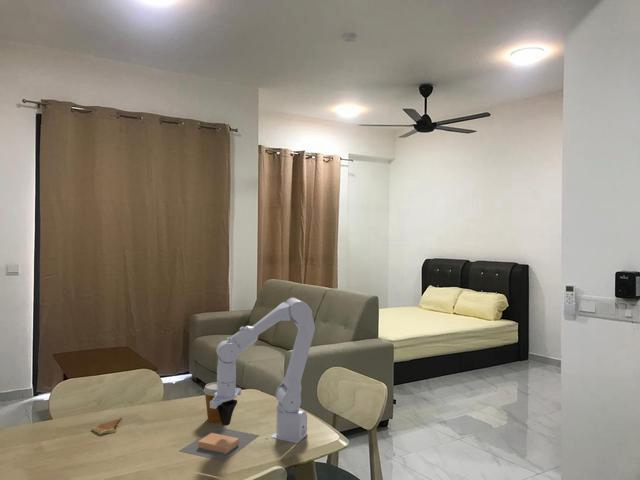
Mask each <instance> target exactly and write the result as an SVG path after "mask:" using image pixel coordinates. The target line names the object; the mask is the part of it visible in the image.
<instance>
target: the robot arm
mask: <svg viewBox="0 0 640 480" xmlns="http://www.w3.org/2000/svg"><path fill="white" fill-rule="evenodd" d="M291 320H292V321H293V323H294V324H295V326H296V327H297V333H296V337H295V341H294V343H293V347H292V351H291V354H290V358H289V362H288V366H287V369H286V373H285V376H284V377H283V378H282V380H281V382H280V384H279V386H278V387H277V389H276V390H275V398H276V400H277V401H278V404H277V406H276V430H275V431H276V432H275V433H273V434H272V435H271V436H270V437H271V439H276V440H280V441H284V442H285V441H286V442H290V443H295V444H299V443H300V442H301V441H303V439H304V438H305V437H307V436H308V413H307V411H305V410H302V409H300V407H301V405H302V394H301V393H302V390H303V388H302V378H303V374H304V371H305V367H306V364H307V360H308V356H309V353H310V349H311V346H312V342H313V337H314V335H315V331H316V325H315V321H314V318H313V310H312V309H311V308H310V306H309V305H308V304H307V302H305V301H303V300H300V299H298V298H297V297H290V298H288V299H287V300H285V301H283V302H281V303H280V304H279V305H277V306H276V307H275V308H274V309H272V310H271V311H270V312H269V313H268V314H266V315H265V316H263V317H262V318H261V319H259V320H258V321H257V322H256V323H254V324H253V325H252V326H251V325H245V326H242V325H241V327H239V330H238V331H237V332H236V333H234V334H233V335H232V336H228V337H227V338H226V339H227V340H222V341H221V342H220V343H218V344H217V347H216V349H215V352H216V355H217V366H216V369H217V370H216V382H217V392H216V393H214V396H215V397H214V398H213V400H212V401H210V408H214V409H216V408H217V410H218V412H219V415H220V419H221V422H220V423H221V425H222V426H225V427H228V426H229V425H230V424H231V421H232V416H233V413H234V410H235V408H236V406H237V405H238V400H237V399H236V397H237V396H241V395H242V388H239V387H237V386H236V385H237V383H236V381H237V365H236V361H237V358H238V356H239V354H240V353H242V352H244V351H245V350H247V348H249V347H250V346H252V345H253V344H254V343H256V342H257V341H258V338H259V336H260V334H262V333H264V332H266V330H268V329H270V328H271V327H273V326H274V325H275V324H277V323H278V322H281V321H282V322H283V321H285V322H286V321H288V322H290V321H291Z"/></svg>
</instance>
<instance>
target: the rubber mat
mask: <svg viewBox="0 0 640 480" xmlns="http://www.w3.org/2000/svg"><path fill="white" fill-rule="evenodd" d="M210 433H215V434H220V435H225V436H230V437H235V438H239V445H238V446H237V447H235V448H234V449H233V450H231V451H230V452H228V453H227V454H223V453H219V452H214V451H210V450H205V449H201V448H199V447H198V441H199V440H201V439H202V438H204V437H206V436H207V435H209V434H210ZM258 437H260V435H259V434H255V433H251V432H250V433H248V432H244V431H240V430H233V429H228V428H226V427H225V428H223V427H220V426H217V427H215V428H213V429H212V430H210V431H208V432H207V433H206V434H204V435H202V436H200V437H199V438H197V439H196V440H194V441H192V442H190V443H189V444H188V445H186V446H184V447H183V448H181V449H180V450H178V452H181V453H184V454H189V455H194V456H199V457H204V458H206V459H207V458H208V459H213V460H216V461H221V462H226V461H227V460H229V459H230V458H232V457H233V456H234V455H236V454H237V453H238V452H240V451H241V450H242V449H244V448H245V447H246V446H248V445H249V444H250V443H252V442H253V441H254V440H256V439H257V438H258Z"/></svg>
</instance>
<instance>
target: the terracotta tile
mask: <svg viewBox="0 0 640 480" xmlns="http://www.w3.org/2000/svg"><path fill="white" fill-rule="evenodd" d="M238 445H239V438H235V437H230V436H225V435H220V434H215V433H210V434H209V435H207V436H206V437H204V438H202V439H201V440H199V441H198V447H199V448H201V449H205V450H210V451H214V452H219V453H223V454H227V453H228V452H230V451H231V450H233V449H234V448H235V447H237V446H238Z"/></svg>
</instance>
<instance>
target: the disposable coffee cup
mask: <svg viewBox="0 0 640 480" xmlns="http://www.w3.org/2000/svg"><path fill="white" fill-rule="evenodd" d="M203 392H204V398H205V405H206V414H207V415H206V416H207V421H208V422H210V423H216V424H218V423H221V419H220V415H219V412H218V410H217V408H216V409H214V408H210V401H212V400H213V398H214V397H215V396H214V393H216V392H217V381H216V382H215V381H214V382H210V383H207V384H205V386H204V389H203Z"/></svg>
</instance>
